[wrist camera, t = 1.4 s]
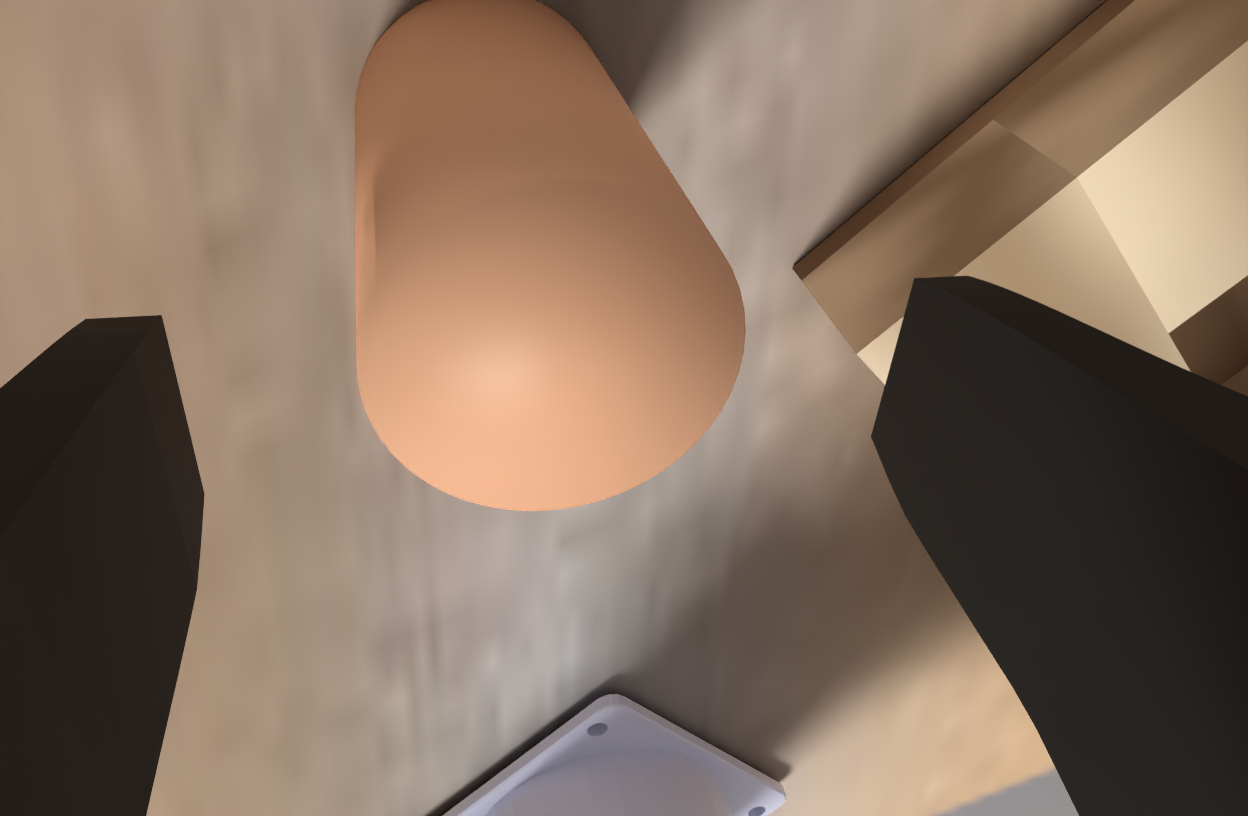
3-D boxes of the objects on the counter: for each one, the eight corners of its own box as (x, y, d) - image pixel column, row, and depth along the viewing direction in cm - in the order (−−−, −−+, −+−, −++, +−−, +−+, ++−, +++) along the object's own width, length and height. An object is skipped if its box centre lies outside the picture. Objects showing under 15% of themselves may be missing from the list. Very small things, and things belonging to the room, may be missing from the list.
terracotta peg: (487, 280, 17) (551, 562, 12) (299, 123, 15) (267, 382, 9) (658, 120, 16) (815, 346, 11) (483, -75, 14) (568, 88, 8)
